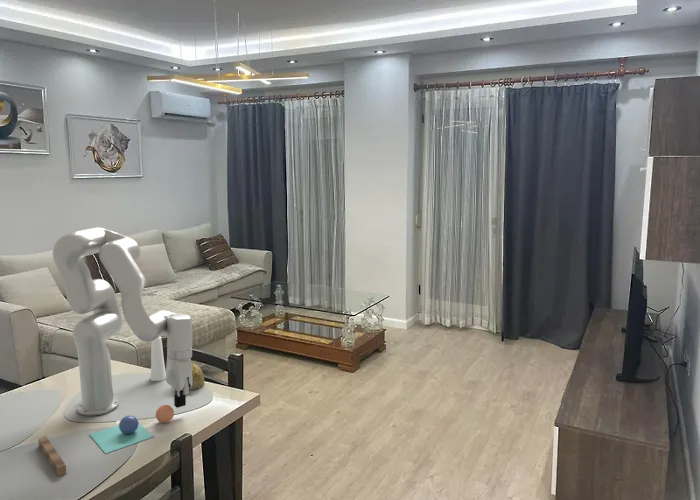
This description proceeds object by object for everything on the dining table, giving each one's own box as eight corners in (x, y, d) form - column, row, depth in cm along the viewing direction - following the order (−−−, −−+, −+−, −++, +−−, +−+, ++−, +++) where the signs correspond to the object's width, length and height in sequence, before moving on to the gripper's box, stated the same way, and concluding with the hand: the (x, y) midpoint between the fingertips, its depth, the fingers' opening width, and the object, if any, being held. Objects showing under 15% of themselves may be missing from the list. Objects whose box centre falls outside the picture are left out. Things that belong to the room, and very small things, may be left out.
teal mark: (89, 435, 163) (89, 434, 163) (135, 420, 173) (135, 419, 172) (105, 453, 153) (105, 453, 153) (153, 437, 162) (153, 436, 162)
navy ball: (138, 421, 169) (122, 434, 166) (128, 409, 166) (113, 421, 163) (144, 428, 164) (128, 440, 162) (135, 415, 162) (119, 428, 159)
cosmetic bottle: (153, 374, 208) (150, 320, 204) (169, 375, 208) (166, 320, 204) (147, 381, 202) (143, 325, 198) (163, 381, 202) (160, 325, 198)
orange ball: (167, 400, 174) (169, 415, 175) (151, 406, 170) (153, 422, 172) (176, 405, 170) (177, 421, 172) (160, 412, 167) (161, 428, 168)
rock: (190, 401, 194) (203, 379, 192) (165, 384, 195) (178, 362, 193) (202, 392, 203) (214, 370, 202) (177, 375, 204) (190, 354, 202)
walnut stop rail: (39, 446, 157) (38, 438, 156) (46, 443, 158) (45, 436, 158) (58, 476, 142) (57, 467, 142) (66, 473, 144) (65, 465, 143)
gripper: (158, 348, 175) (159, 400, 179) (179, 362, 164) (179, 418, 168) (180, 343, 180) (180, 394, 184) (201, 357, 170) (201, 411, 173)
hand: (180, 405), depth 176 cm, fingers closed
